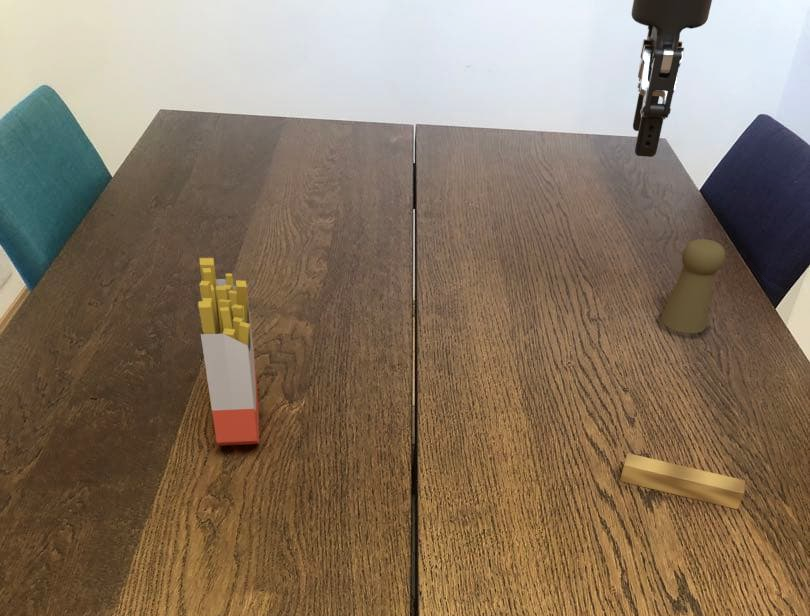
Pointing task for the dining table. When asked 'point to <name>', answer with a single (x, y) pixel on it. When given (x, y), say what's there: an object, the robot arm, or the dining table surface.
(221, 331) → the french fries container
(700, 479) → the golden stick
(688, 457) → the dining table surface
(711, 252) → the olive pawn
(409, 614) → the dining table surface
